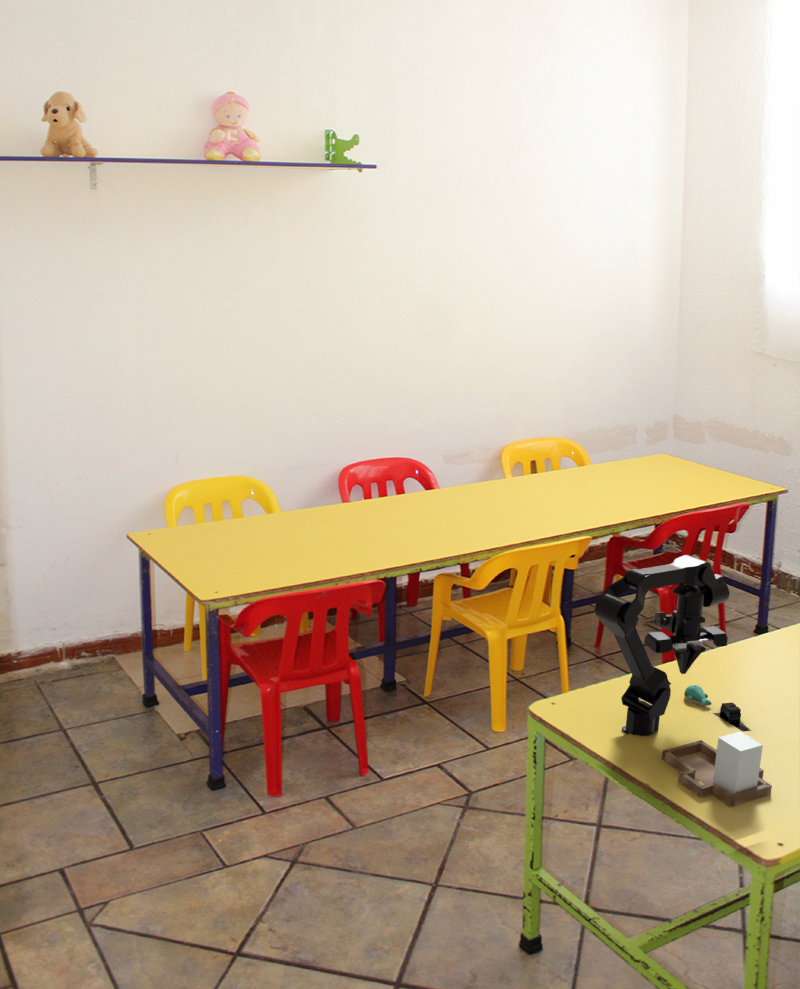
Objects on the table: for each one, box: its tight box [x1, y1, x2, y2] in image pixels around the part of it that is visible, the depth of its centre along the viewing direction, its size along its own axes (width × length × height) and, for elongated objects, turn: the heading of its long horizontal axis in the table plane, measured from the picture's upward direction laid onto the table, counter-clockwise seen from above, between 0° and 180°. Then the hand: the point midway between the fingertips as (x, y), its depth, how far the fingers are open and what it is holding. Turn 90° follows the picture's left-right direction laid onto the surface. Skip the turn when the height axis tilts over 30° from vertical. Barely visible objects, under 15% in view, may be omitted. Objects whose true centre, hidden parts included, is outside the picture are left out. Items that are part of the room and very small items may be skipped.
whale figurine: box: [684, 684, 712, 707], centre depth 240 cm, size 6×7×4 cm
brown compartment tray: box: [661, 739, 773, 808], centre depth 205 cm, size 20×17×3 cm
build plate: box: [708, 702, 751, 733], centre depth 230 cm, size 12×7×5 cm, turn 12°
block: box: [713, 731, 764, 794], centre depth 199 cm, size 6×6×11 cm
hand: (682, 673), depth 228 cm, fingers closed
